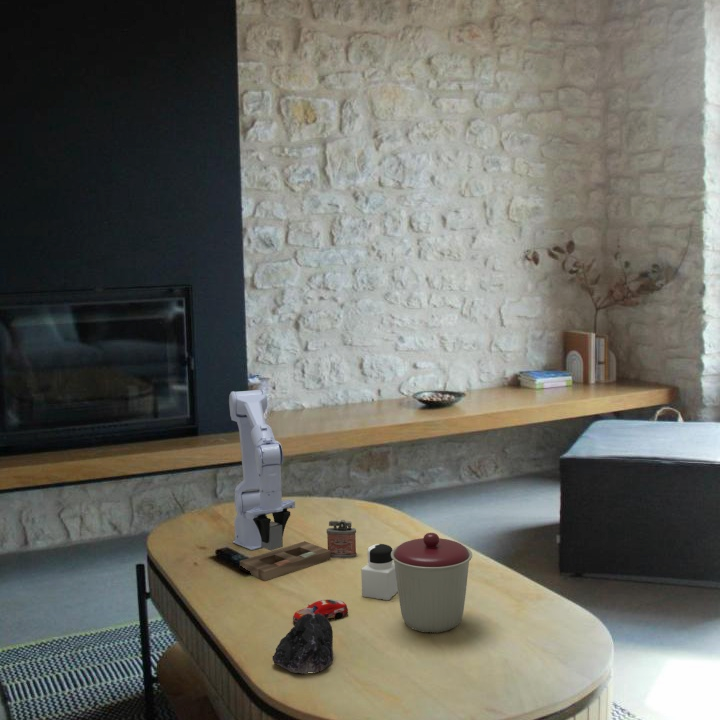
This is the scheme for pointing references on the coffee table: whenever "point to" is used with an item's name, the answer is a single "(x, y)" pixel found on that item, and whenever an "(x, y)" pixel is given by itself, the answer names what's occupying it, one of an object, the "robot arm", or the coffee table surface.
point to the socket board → (285, 560)
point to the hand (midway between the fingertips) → (272, 539)
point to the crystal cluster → (306, 645)
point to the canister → (431, 582)
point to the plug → (274, 537)
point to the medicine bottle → (379, 573)
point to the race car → (324, 610)
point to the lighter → (341, 539)
